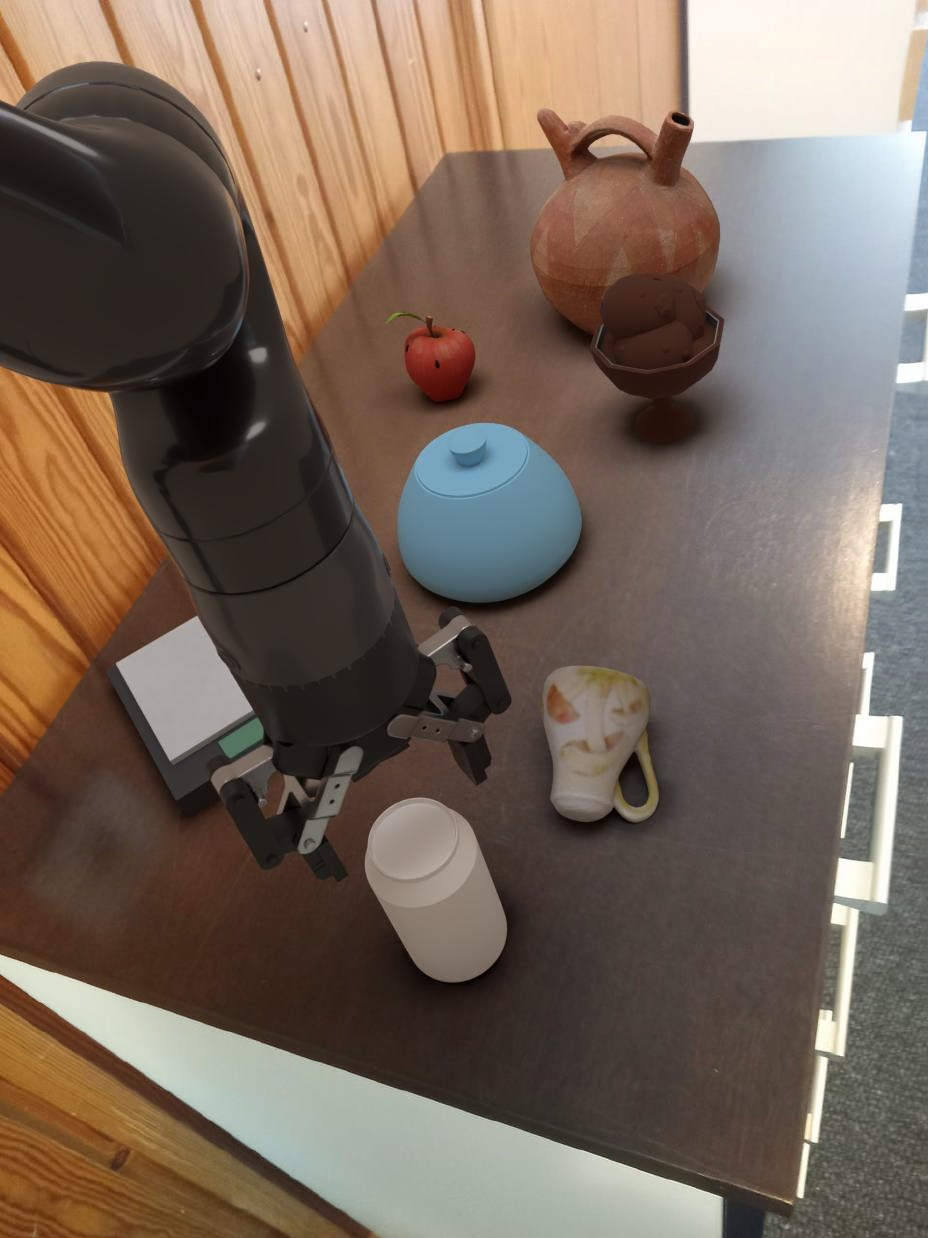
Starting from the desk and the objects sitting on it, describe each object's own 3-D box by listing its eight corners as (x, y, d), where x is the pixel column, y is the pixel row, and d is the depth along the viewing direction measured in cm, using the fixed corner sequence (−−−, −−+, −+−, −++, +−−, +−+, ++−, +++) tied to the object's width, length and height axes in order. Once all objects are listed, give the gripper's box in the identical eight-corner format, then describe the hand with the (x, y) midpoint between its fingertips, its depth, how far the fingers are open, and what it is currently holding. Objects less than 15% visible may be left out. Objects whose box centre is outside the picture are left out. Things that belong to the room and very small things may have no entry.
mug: (529, 842, 66) (493, 700, 64) (586, 771, 74) (555, 642, 72) (638, 847, 63) (604, 696, 60) (685, 771, 70) (657, 635, 68)
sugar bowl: (443, 643, 80) (406, 534, 71) (383, 532, 90) (345, 426, 82) (617, 566, 81) (600, 451, 73) (539, 466, 92) (516, 355, 83)
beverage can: (514, 892, 64) (476, 785, 56) (505, 990, 60) (462, 891, 51) (418, 892, 66) (366, 787, 57) (403, 987, 61) (345, 890, 53)
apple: (458, 364, 105) (435, 275, 98) (496, 389, 101) (475, 298, 94) (396, 399, 103) (368, 312, 96) (432, 427, 99) (406, 337, 92)
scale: (189, 819, 73) (171, 796, 71) (118, 689, 84) (101, 665, 82) (367, 705, 77) (355, 680, 75) (277, 594, 87) (265, 569, 85)
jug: (508, 346, 106) (468, 153, 91) (593, 255, 114) (568, 66, 100) (673, 376, 96) (657, 166, 82) (752, 274, 105) (749, 69, 91)
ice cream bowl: (697, 475, 86) (688, 319, 76) (581, 449, 92) (557, 299, 81) (748, 401, 92) (746, 244, 81) (635, 380, 97) (618, 231, 86)
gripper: (403, 480, 46) (477, 701, 57) (115, 650, 42) (256, 849, 54) (497, 564, 41) (557, 788, 53) (180, 765, 37) (320, 956, 49)
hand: (404, 819), depth 53 cm, fingers open, 8 cm apart
